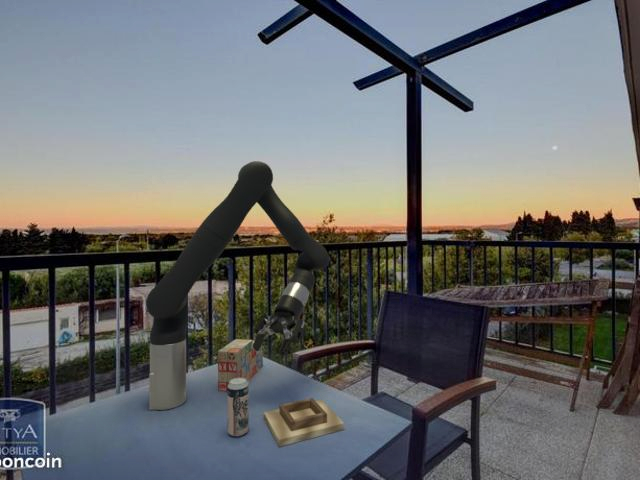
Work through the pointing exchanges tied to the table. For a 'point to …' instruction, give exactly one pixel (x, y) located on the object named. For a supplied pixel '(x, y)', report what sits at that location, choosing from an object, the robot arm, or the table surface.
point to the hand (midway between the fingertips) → (267, 352)
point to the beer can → (238, 407)
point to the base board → (302, 421)
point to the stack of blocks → (238, 362)
